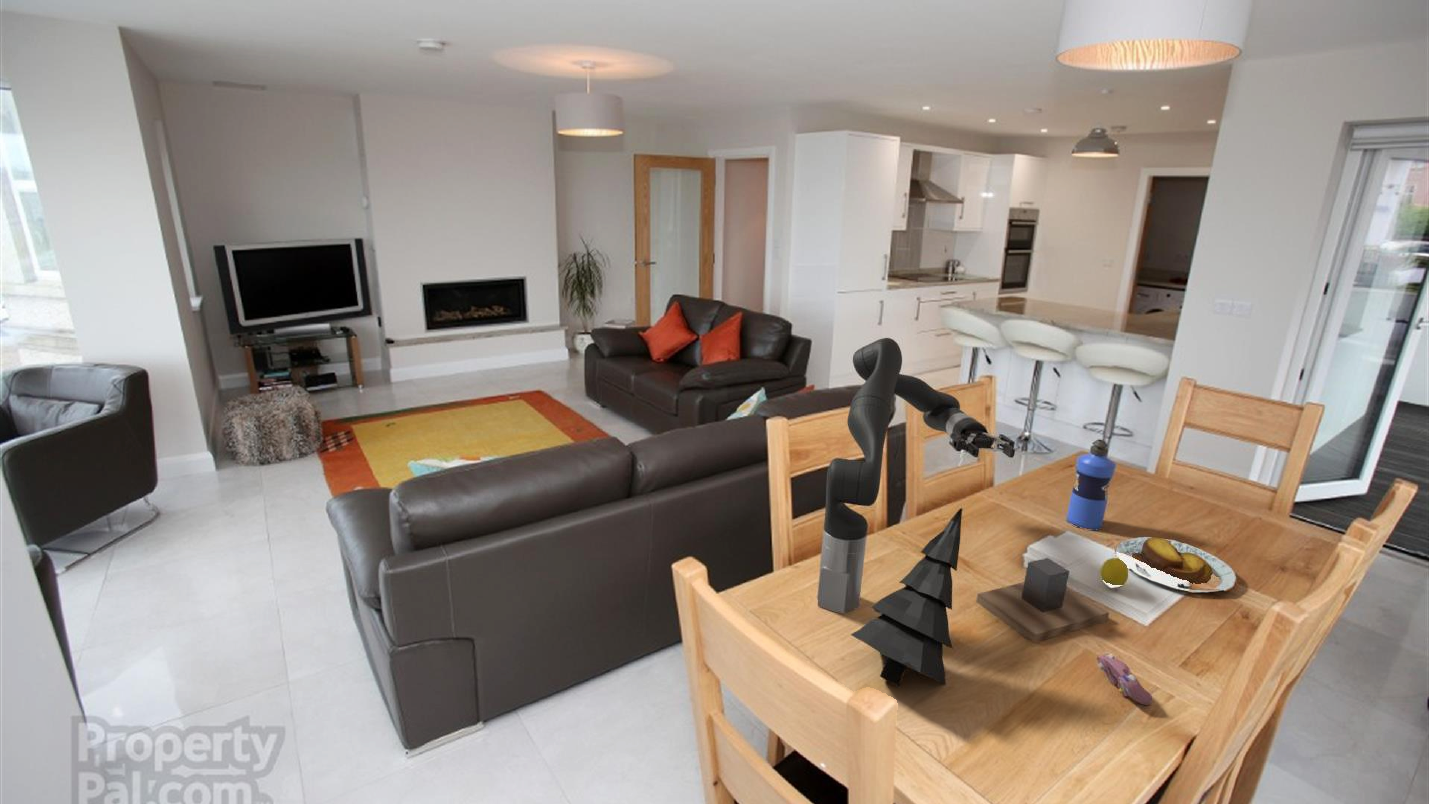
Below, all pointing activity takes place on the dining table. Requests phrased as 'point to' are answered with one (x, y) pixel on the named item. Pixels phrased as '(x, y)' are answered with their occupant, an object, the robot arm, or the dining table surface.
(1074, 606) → the flat brown board
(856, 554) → the robot arm
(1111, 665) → the video game controller
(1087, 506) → the water bottle
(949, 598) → the decorative tree
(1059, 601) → the dark grey box
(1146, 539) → the food on plate
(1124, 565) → the lemon
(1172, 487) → the dining table surface
